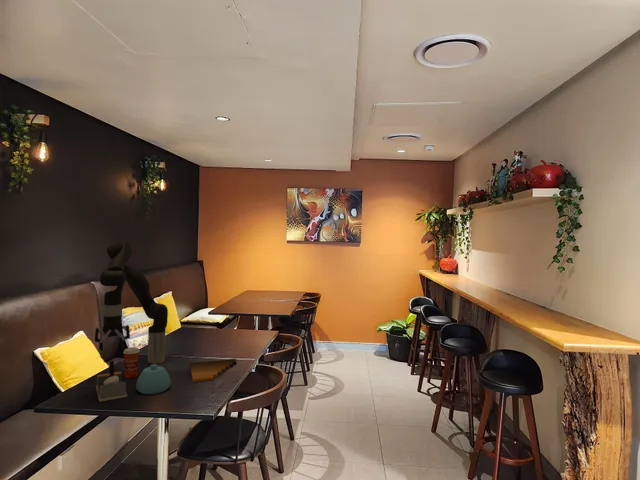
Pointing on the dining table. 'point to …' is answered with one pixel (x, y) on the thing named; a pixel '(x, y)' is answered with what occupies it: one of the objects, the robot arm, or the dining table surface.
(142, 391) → the teal dome lid
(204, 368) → the pan flute
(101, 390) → the beige napkin holder
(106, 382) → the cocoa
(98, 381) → the sliding jaw
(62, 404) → the dining table surface
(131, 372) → the paper cup
